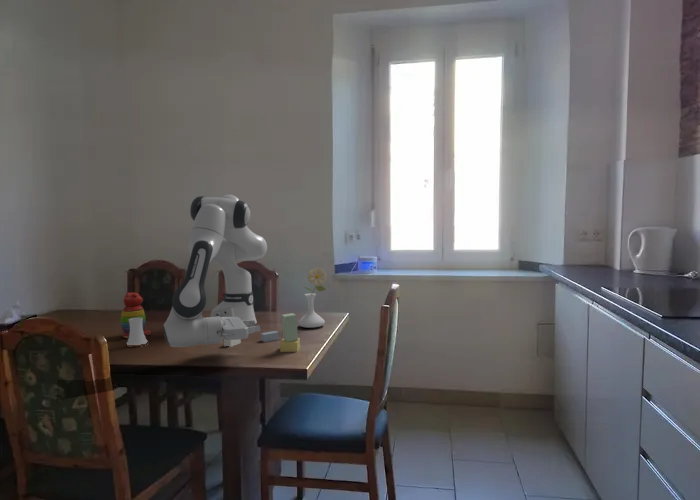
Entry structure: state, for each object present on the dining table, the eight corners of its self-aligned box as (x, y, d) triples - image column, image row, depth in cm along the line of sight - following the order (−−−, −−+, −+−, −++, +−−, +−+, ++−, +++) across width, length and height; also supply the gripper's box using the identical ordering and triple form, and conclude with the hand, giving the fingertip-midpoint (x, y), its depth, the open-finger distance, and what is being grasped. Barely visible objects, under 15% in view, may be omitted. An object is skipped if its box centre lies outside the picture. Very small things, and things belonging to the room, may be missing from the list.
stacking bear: (153, 335, 200) (151, 291, 199) (128, 340, 192) (125, 295, 191) (141, 331, 207) (138, 289, 206) (116, 336, 200) (114, 292, 198)
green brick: (287, 342, 170) (285, 316, 169) (283, 339, 174) (281, 314, 173) (298, 340, 172) (296, 314, 171) (294, 337, 175) (292, 312, 174)
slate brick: (264, 342, 183) (264, 334, 183) (261, 341, 186) (260, 333, 186) (279, 339, 187) (278, 332, 187) (275, 338, 189) (275, 330, 189)
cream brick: (230, 347, 178) (230, 339, 178) (224, 346, 179) (223, 338, 179) (240, 343, 184) (240, 335, 183) (234, 342, 185) (233, 334, 185)
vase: (149, 345, 183) (147, 319, 183) (127, 348, 180) (125, 321, 179) (146, 341, 190) (145, 315, 189) (125, 344, 186) (123, 318, 186)
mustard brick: (280, 352, 170) (279, 342, 170) (283, 347, 176) (283, 338, 176) (297, 352, 170) (297, 342, 169) (300, 347, 176) (299, 338, 175)
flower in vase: (295, 329, 202) (292, 269, 200) (301, 323, 213) (299, 266, 211) (326, 330, 200) (324, 269, 198) (331, 323, 211) (329, 266, 210)
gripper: (218, 326, 153) (262, 322, 158) (212, 315, 172) (251, 311, 177) (219, 346, 153) (263, 341, 158) (213, 332, 173) (252, 328, 178)
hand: (257, 325), depth 168 cm, fingers open, 8 cm apart
